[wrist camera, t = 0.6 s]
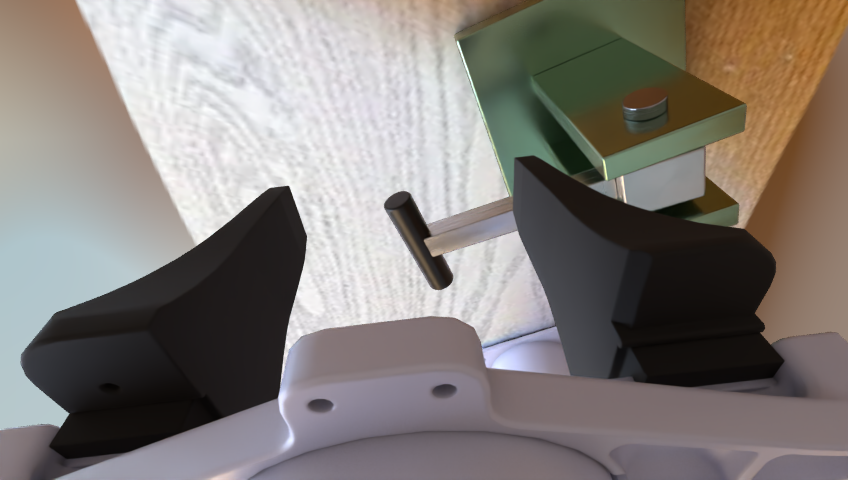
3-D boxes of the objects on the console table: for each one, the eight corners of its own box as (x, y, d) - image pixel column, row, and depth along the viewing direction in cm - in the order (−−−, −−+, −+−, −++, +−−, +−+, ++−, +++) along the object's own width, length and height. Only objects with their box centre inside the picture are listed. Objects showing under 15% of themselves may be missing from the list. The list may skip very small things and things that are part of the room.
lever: (429, 267, 21) (430, 303, 19) (385, 188, 18) (381, 222, 16) (676, 190, 18) (705, 224, 16) (672, 82, 15) (707, 108, 13)
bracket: (513, 208, 26) (563, 329, 19) (453, 34, 20) (492, 110, 12) (677, 147, 24) (809, 254, 17) (669, -68, 18) (878, -53, 10)
